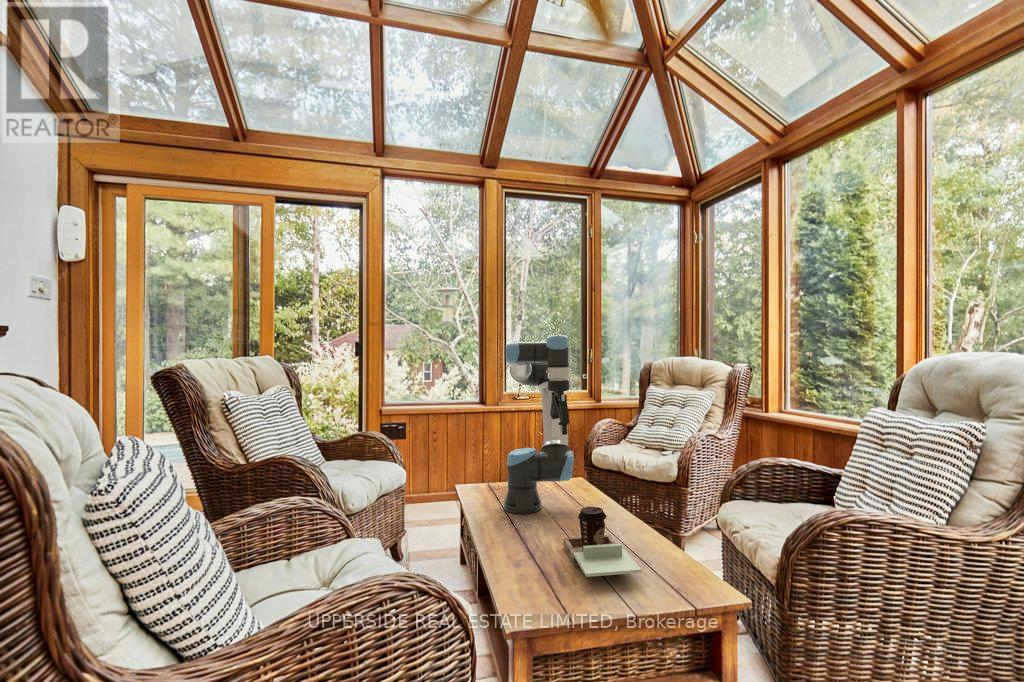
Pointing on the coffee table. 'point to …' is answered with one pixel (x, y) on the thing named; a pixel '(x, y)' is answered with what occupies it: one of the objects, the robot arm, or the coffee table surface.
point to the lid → (605, 560)
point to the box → (580, 547)
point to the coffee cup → (592, 526)
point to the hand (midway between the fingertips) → (560, 440)
